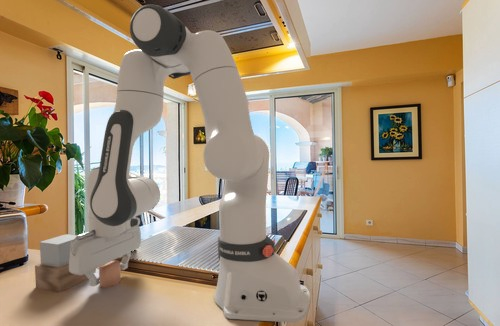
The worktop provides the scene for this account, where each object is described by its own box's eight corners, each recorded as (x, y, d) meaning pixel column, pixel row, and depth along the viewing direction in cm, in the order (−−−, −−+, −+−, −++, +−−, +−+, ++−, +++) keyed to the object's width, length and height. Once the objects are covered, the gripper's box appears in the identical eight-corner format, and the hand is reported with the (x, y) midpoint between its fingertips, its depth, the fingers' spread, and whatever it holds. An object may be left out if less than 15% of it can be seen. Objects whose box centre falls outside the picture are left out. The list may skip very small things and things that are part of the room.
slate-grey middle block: (84, 257, 74) (83, 236, 73) (59, 267, 67) (58, 244, 67) (67, 254, 76) (66, 234, 76) (40, 264, 69) (39, 241, 69)
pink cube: (124, 279, 72) (124, 261, 72) (109, 288, 67) (109, 269, 67) (110, 277, 74) (110, 259, 73) (95, 286, 69) (94, 267, 69)
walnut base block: (92, 277, 74) (91, 256, 74) (59, 293, 66) (58, 269, 66) (69, 273, 77) (68, 253, 77) (35, 287, 69) (34, 265, 69)
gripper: (80, 238, 59) (83, 298, 60) (144, 217, 78) (145, 262, 79) (60, 236, 61) (63, 294, 62) (127, 216, 80) (128, 260, 81)
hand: (110, 276), depth 70 cm, fingers open, 8 cm apart
